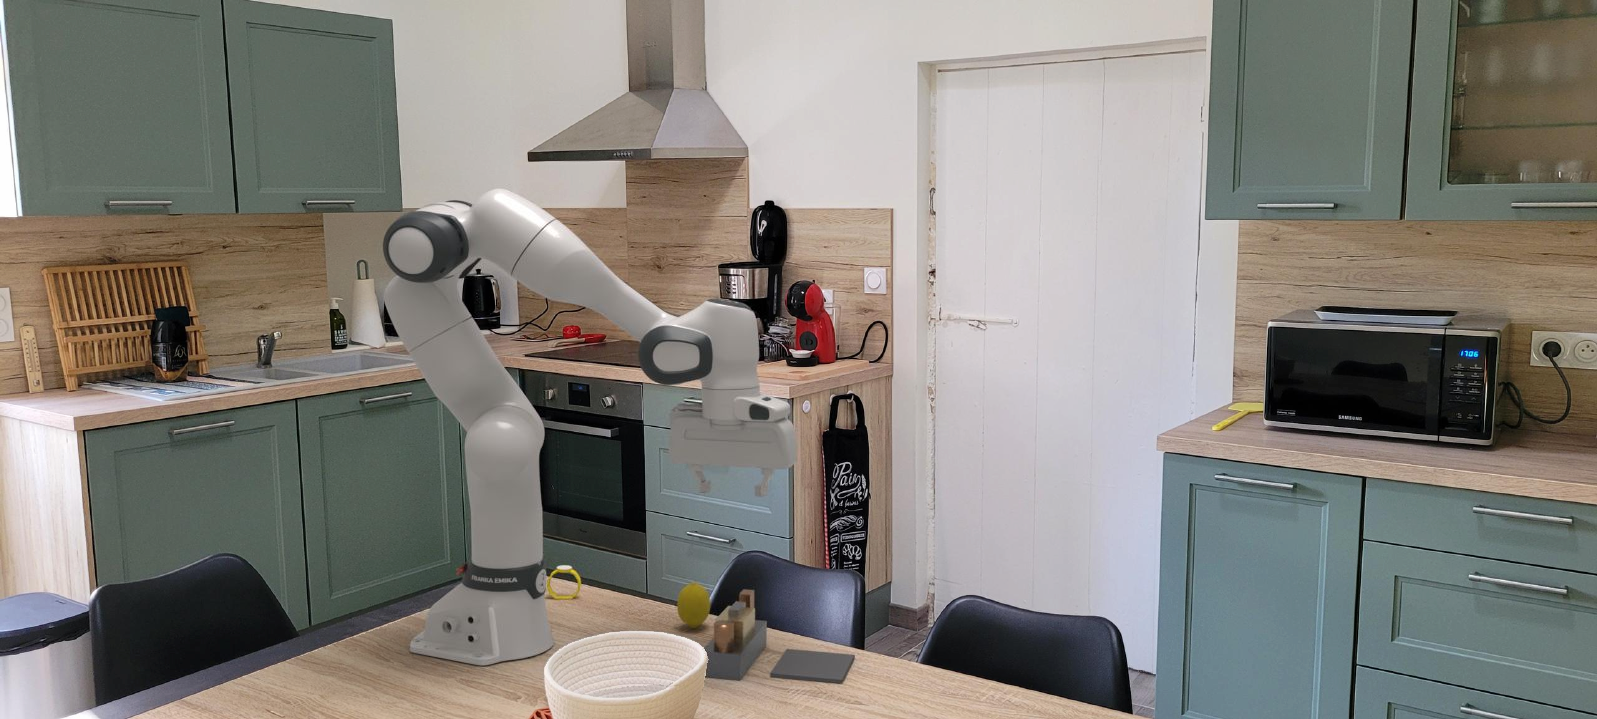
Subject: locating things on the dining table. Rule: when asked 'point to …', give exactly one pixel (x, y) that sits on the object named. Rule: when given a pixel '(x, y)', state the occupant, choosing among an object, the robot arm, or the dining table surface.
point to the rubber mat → (813, 666)
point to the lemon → (693, 604)
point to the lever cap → (740, 620)
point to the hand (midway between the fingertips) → (732, 494)
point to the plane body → (734, 646)
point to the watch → (564, 570)
